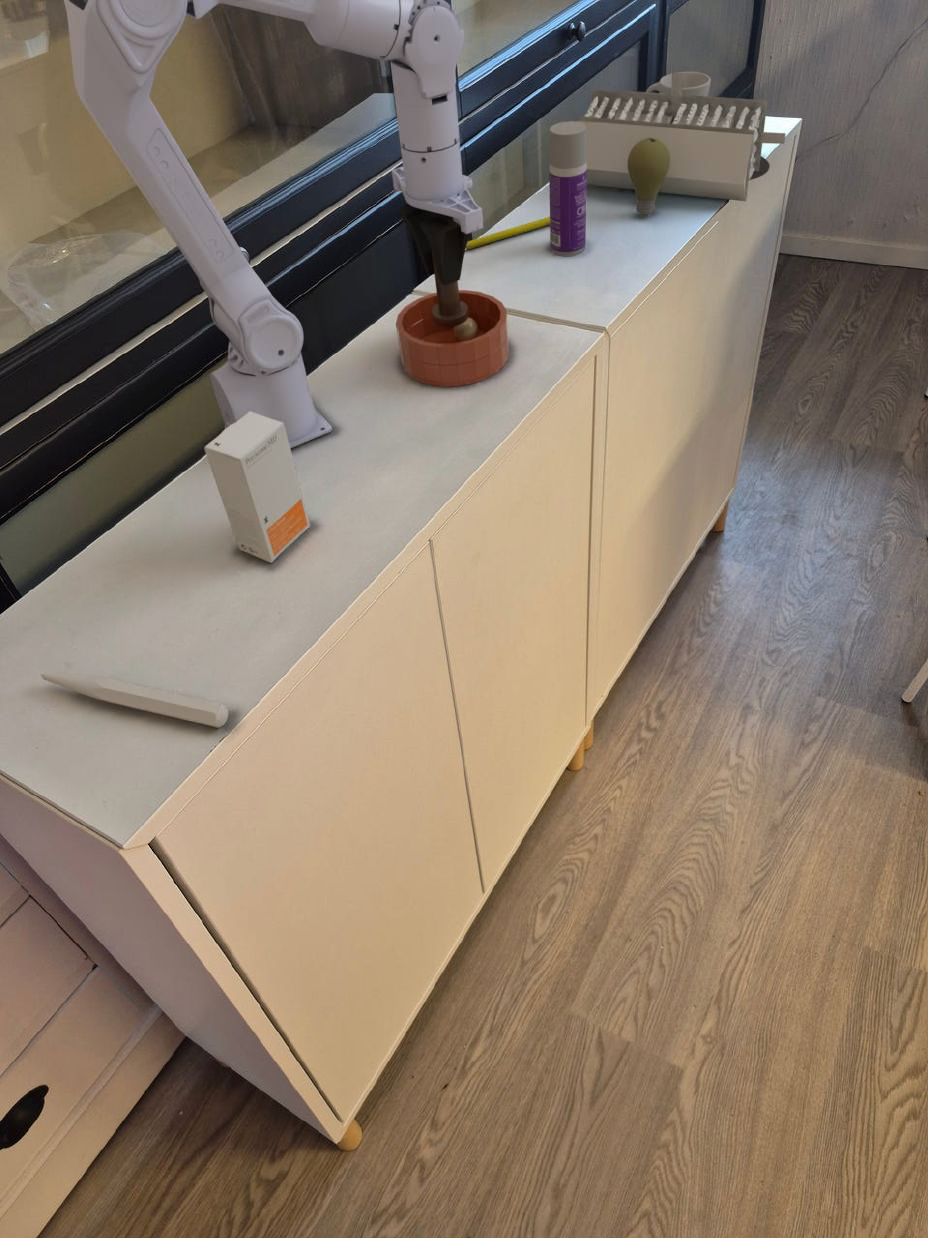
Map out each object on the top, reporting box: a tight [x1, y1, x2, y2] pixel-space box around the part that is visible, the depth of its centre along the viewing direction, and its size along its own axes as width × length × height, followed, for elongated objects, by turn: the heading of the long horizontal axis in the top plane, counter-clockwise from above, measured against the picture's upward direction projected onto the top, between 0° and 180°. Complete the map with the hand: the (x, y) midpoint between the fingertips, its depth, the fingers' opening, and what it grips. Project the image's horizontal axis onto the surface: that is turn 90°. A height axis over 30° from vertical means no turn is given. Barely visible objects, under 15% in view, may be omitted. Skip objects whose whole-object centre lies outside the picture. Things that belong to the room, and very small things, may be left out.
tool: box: [40, 671, 229, 729], centre depth 72 cm, size 17×2×2 cm
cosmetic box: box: [203, 412, 311, 564], centre depth 81 cm, size 6×4×12 cm
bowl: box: [395, 289, 510, 388], centre depth 103 cm, size 12×12×5 cm
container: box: [548, 120, 587, 257], centre depth 115 cm, size 5×5×15 cm
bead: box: [454, 318, 478, 342], centre depth 105 cm, size 3×3×3 cm
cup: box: [645, 71, 712, 97], centre depth 139 cm, size 8×10×8 cm
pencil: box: [465, 216, 550, 250], centre depth 124 cm, size 16×1×1 cm
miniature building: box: [575, 72, 787, 202], centre depth 124 cm, size 13×27×10 cm
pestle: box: [431, 250, 468, 327], centre depth 97 cm, size 4×4×8 cm
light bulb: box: [628, 138, 670, 218], centre depth 122 cm, size 6×6×10 cm
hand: (443, 276), depth 96 cm, fingers closed on pestle, 2 cm apart
